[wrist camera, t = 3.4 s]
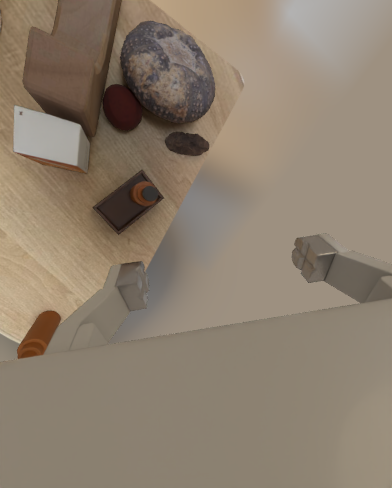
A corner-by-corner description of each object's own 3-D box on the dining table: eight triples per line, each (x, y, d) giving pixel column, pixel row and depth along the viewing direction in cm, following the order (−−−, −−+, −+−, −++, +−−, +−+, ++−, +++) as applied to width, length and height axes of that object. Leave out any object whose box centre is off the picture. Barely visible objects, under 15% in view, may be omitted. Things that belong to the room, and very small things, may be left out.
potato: (109, 136, 42) (108, 125, 36) (98, 94, 40) (95, 74, 34) (143, 133, 45) (148, 123, 38) (135, 93, 42) (138, 75, 36)
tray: (118, 232, 48) (118, 234, 45) (93, 207, 44) (92, 207, 42) (161, 198, 49) (164, 198, 47) (141, 170, 46) (142, 169, 44)
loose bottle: (33, 326, 45) (-6, 387, 31) (41, 308, 45) (6, 362, 31) (55, 330, 47) (29, 389, 33) (63, 313, 47) (40, 365, 33)
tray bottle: (126, 198, 46) (131, 199, 31) (135, 180, 46) (143, 173, 31) (144, 207, 48) (157, 212, 33) (153, 190, 48) (169, 187, 33)
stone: (164, 130, 47) (164, 153, 48) (166, 127, 45) (165, 151, 46) (207, 137, 50) (206, 158, 51) (211, 134, 48) (209, 156, 49)
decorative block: (52, 123, 39) (81, -52, 35) (95, 139, 42) (125, -21, 38) (18, 84, 25) (60, -210, 21) (84, 112, 28) (131, -141, 24)
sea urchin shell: (96, 78, 35) (102, 2, 27) (145, 54, 45) (160, -5, 38) (184, 147, 39) (211, 99, 32) (210, 110, 50) (235, 68, 42)
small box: (42, 165, 39) (10, 151, 28) (44, 131, 38) (12, 102, 27) (88, 174, 43) (77, 166, 31) (91, 143, 41) (81, 123, 30)
